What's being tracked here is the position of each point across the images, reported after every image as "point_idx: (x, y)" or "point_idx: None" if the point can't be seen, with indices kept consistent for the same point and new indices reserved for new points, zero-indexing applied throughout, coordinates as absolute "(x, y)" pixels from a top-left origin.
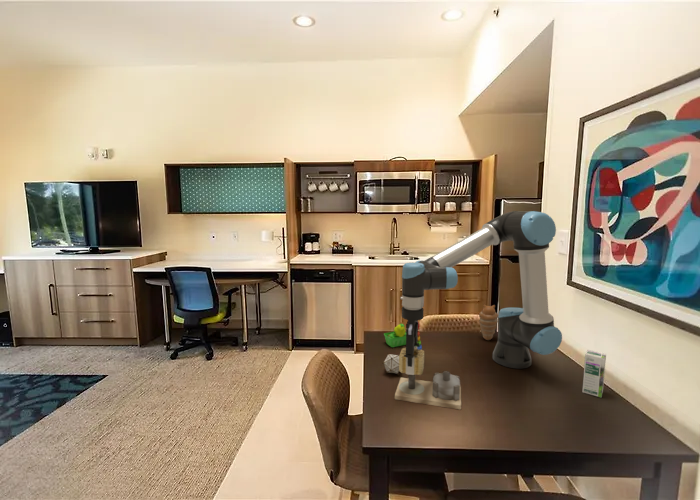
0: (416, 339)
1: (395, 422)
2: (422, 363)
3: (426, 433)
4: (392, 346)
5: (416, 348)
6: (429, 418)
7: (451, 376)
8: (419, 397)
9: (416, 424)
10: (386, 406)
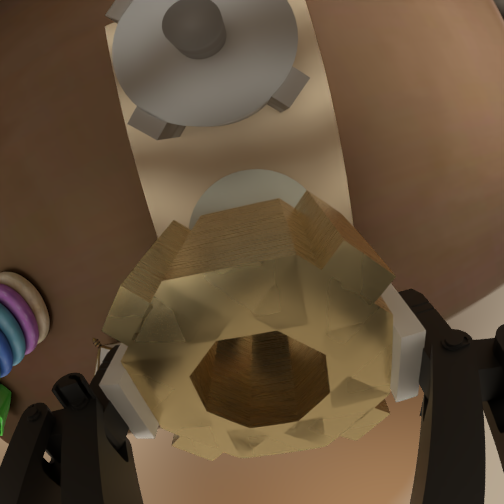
0: (101, 474)
1: (483, 214)
2: (328, 217)
3: (495, 99)
4: (8, 392)
5: (125, 377)
6: (424, 97)
7: (140, 26)
8: (330, 170)
9: (472, 140)
10: (411, 281)
